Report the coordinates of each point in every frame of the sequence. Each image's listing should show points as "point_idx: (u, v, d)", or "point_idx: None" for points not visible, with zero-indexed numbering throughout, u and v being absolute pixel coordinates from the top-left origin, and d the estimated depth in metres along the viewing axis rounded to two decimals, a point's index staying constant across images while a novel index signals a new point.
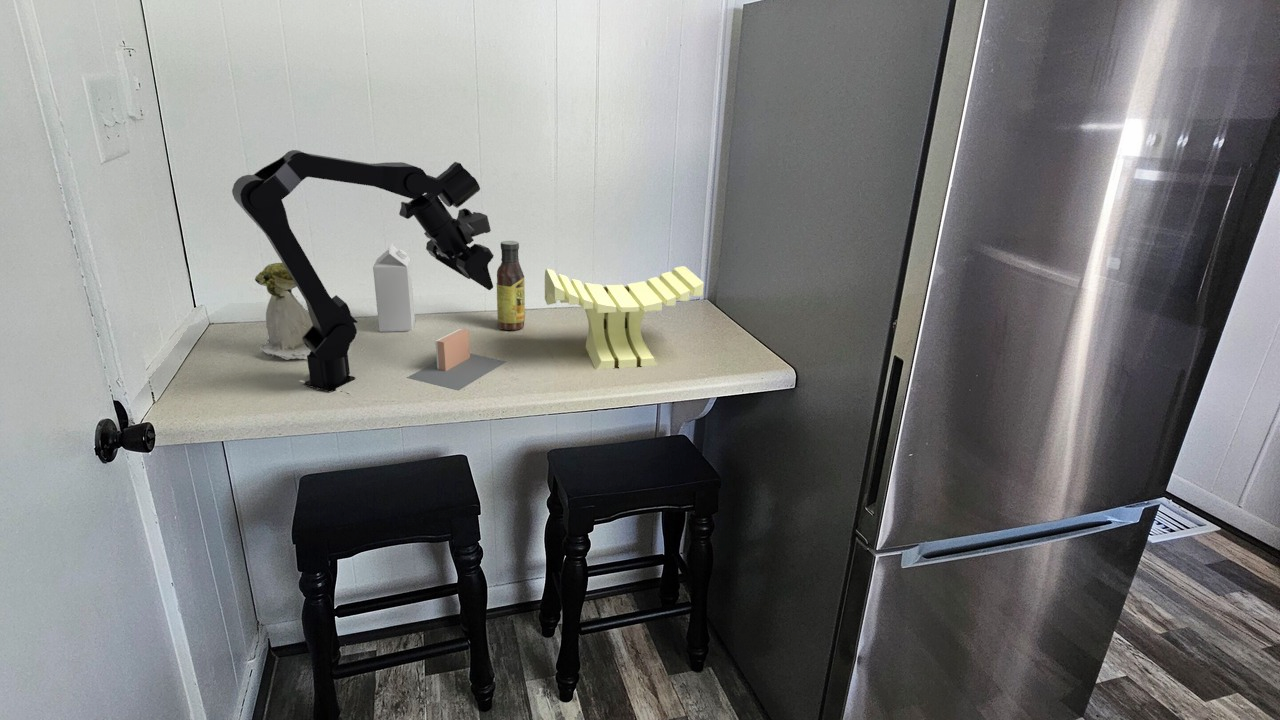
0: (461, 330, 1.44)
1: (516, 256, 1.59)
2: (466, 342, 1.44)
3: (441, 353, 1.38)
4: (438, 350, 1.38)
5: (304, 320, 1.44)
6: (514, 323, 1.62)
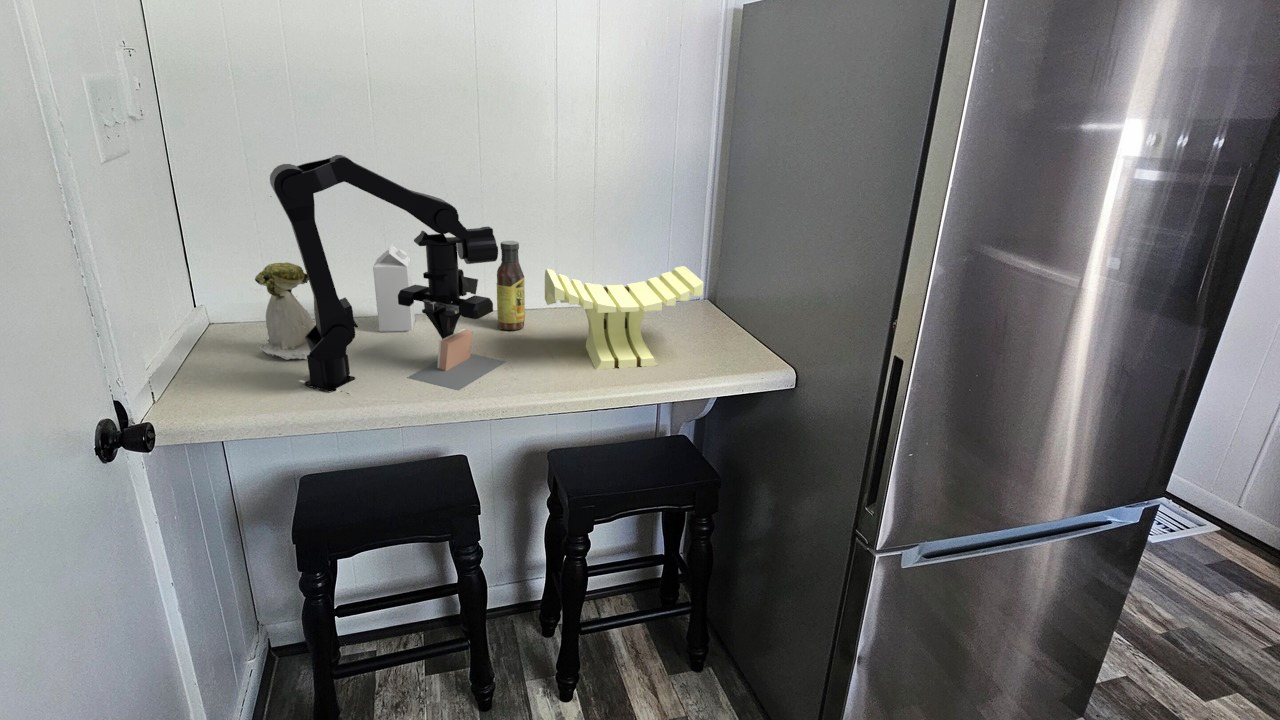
0: (465, 330, 1.43)
1: (516, 256, 1.59)
2: (468, 343, 1.44)
3: (443, 353, 1.38)
4: (441, 350, 1.38)
5: (304, 320, 1.44)
6: (514, 323, 1.62)
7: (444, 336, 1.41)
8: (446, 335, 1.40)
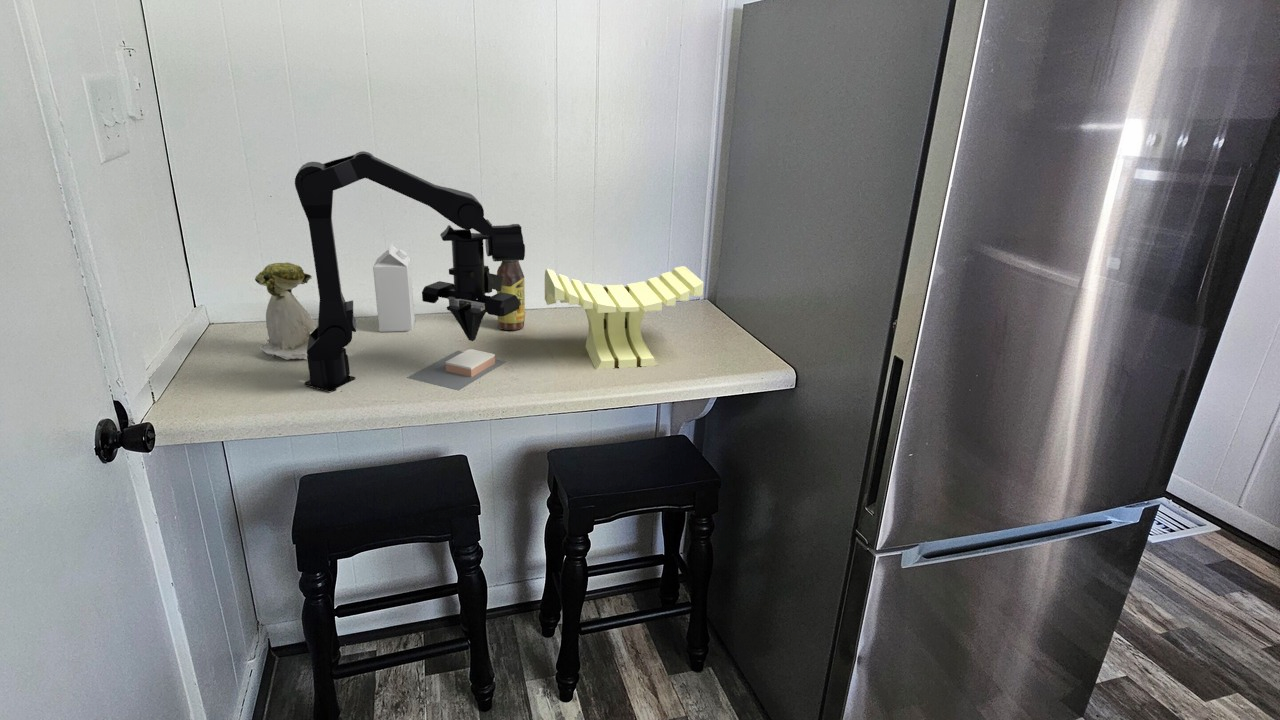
0: (492, 359, 1.43)
1: None
2: None
3: (460, 371, 1.38)
4: (462, 368, 1.37)
5: (304, 320, 1.44)
6: (514, 323, 1.62)
7: (469, 334, 1.38)
8: (471, 333, 1.37)
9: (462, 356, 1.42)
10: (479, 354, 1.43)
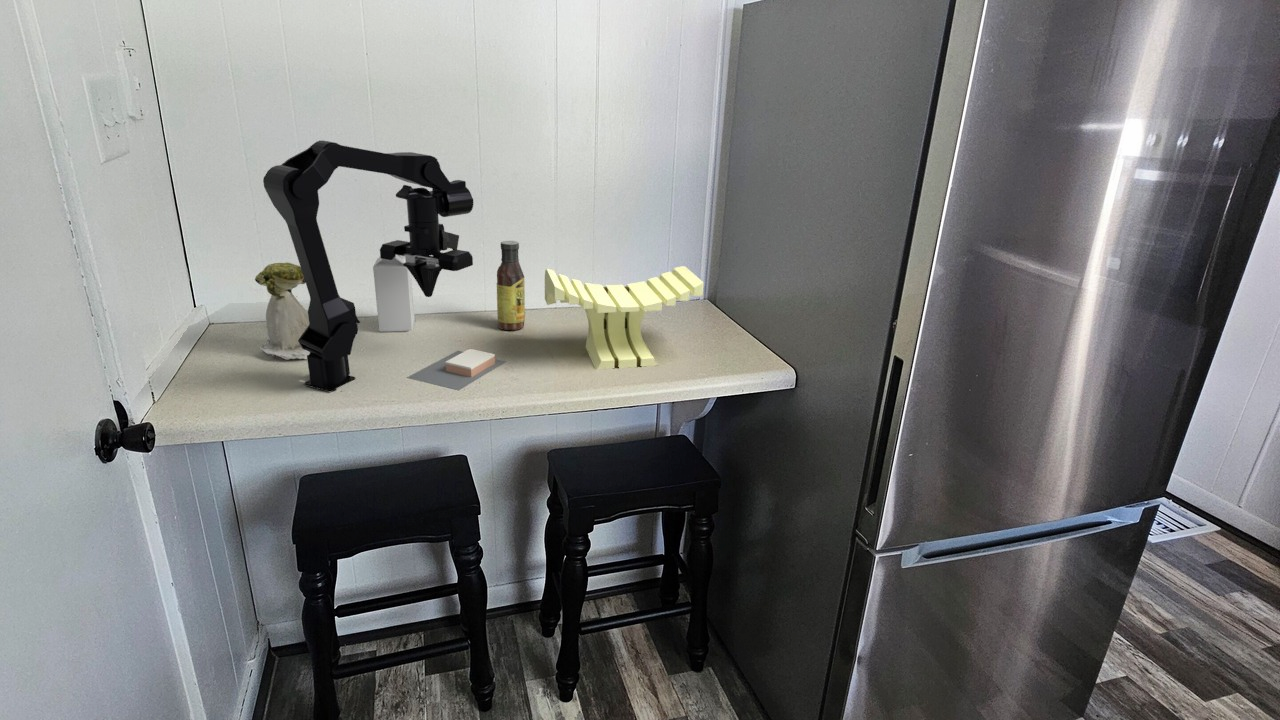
0: (492, 359, 1.43)
1: (516, 256, 1.59)
2: None
3: (460, 371, 1.38)
4: (462, 368, 1.37)
5: (304, 320, 1.44)
6: (514, 323, 1.62)
7: (425, 290, 1.44)
8: (427, 289, 1.43)
9: (462, 356, 1.42)
10: (479, 354, 1.43)
